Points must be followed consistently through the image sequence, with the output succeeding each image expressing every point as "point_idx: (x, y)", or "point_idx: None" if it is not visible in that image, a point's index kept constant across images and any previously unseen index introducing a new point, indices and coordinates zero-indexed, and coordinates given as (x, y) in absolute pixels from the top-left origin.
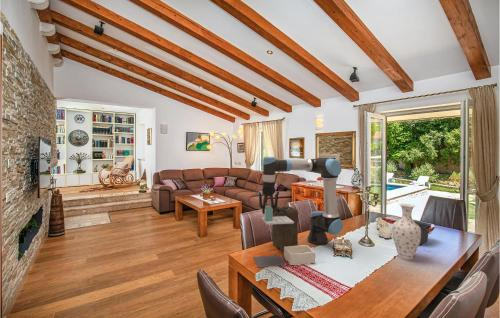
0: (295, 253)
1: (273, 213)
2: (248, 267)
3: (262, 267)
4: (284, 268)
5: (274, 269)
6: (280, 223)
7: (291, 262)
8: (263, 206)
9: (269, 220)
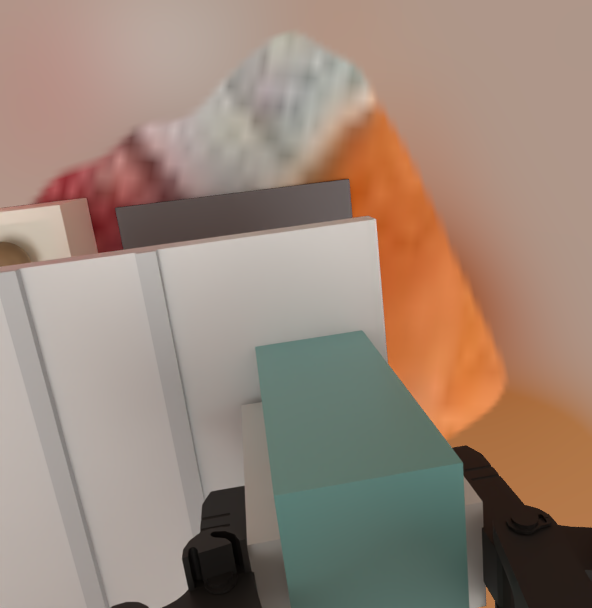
0: (7, 223)
1: (217, 490)
2: (416, 191)
3: (315, 183)
4: (144, 156)
5: (227, 145)
6: (103, 253)
7: (72, 200)
8: (570, 553)
9: (309, 343)
